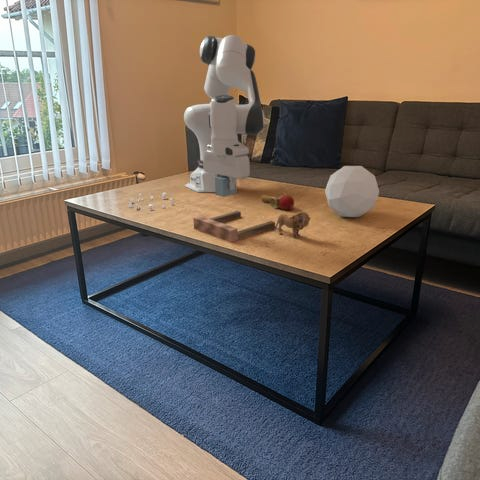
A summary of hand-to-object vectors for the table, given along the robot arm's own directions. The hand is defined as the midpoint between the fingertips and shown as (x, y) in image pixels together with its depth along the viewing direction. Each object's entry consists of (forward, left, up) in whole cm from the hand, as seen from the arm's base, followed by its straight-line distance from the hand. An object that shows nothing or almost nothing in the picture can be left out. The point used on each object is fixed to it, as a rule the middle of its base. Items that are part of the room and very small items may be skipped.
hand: (225, 188), depth 156 cm
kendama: (-8, +34, -16) cm, 39 cm away
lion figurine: (+19, +12, -15) cm, 28 cm away
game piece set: (-49, 0, -16) cm, 52 cm away
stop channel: (0, +3, -15) cm, 16 cm away
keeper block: (0, 0, -2) cm, 2 cm away
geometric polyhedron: (+21, +44, -15) cm, 51 cm away
